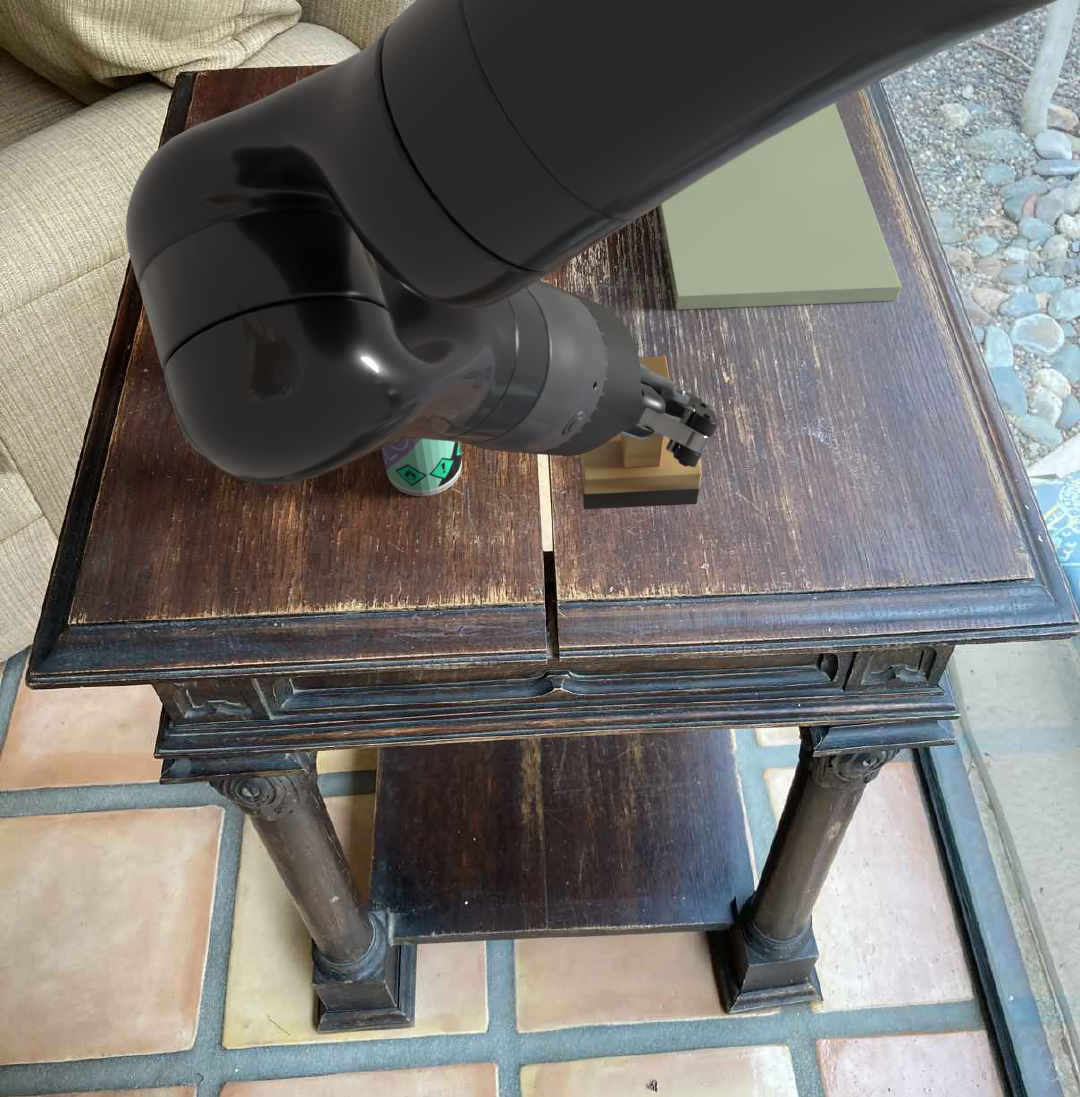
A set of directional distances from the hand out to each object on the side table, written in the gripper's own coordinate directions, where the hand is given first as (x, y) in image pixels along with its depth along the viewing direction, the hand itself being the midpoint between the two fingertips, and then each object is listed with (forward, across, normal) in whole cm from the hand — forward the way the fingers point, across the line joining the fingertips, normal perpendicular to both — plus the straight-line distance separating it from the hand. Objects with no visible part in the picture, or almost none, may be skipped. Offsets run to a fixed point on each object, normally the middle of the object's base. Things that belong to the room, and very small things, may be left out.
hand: (663, 399), depth 62 cm
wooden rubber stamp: (+3, 0, +6) cm, 6 cm away
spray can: (+5, +16, +13) cm, 21 cm away
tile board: (+34, +14, -16) cm, 40 cm away
